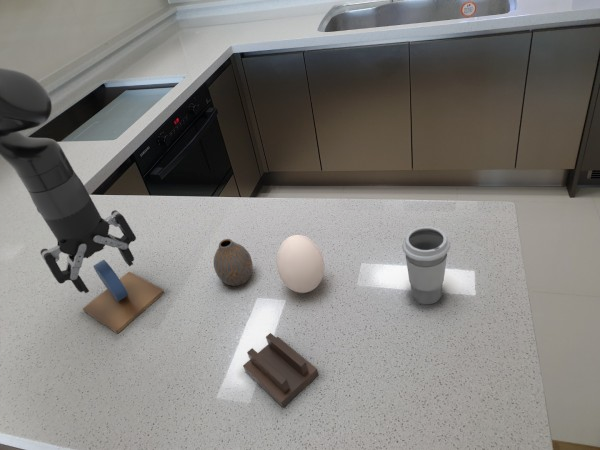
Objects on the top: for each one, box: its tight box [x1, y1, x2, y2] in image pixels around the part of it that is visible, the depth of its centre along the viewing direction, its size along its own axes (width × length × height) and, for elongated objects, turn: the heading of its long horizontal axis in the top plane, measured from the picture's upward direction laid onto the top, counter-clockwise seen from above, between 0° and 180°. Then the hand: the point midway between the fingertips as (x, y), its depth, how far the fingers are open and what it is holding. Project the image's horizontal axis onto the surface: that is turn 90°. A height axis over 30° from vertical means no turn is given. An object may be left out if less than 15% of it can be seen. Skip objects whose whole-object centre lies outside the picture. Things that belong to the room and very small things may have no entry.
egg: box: [276, 234, 325, 294], centre depth 78 cm, size 8×8×11 cm
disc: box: [92, 259, 128, 302], centre depth 85 cm, size 2×8×8 cm
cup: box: [401, 225, 451, 305], centre depth 72 cm, size 7×7×12 cm
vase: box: [213, 238, 253, 287], centre depth 84 cm, size 7×7×9 cm
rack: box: [242, 332, 320, 409], centre depth 67 cm, size 7×9×4 cm
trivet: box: [82, 271, 165, 334], centre depth 86 cm, size 11×11×1 cm
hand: (108, 276), depth 82 cm, fingers open, 8 cm apart
